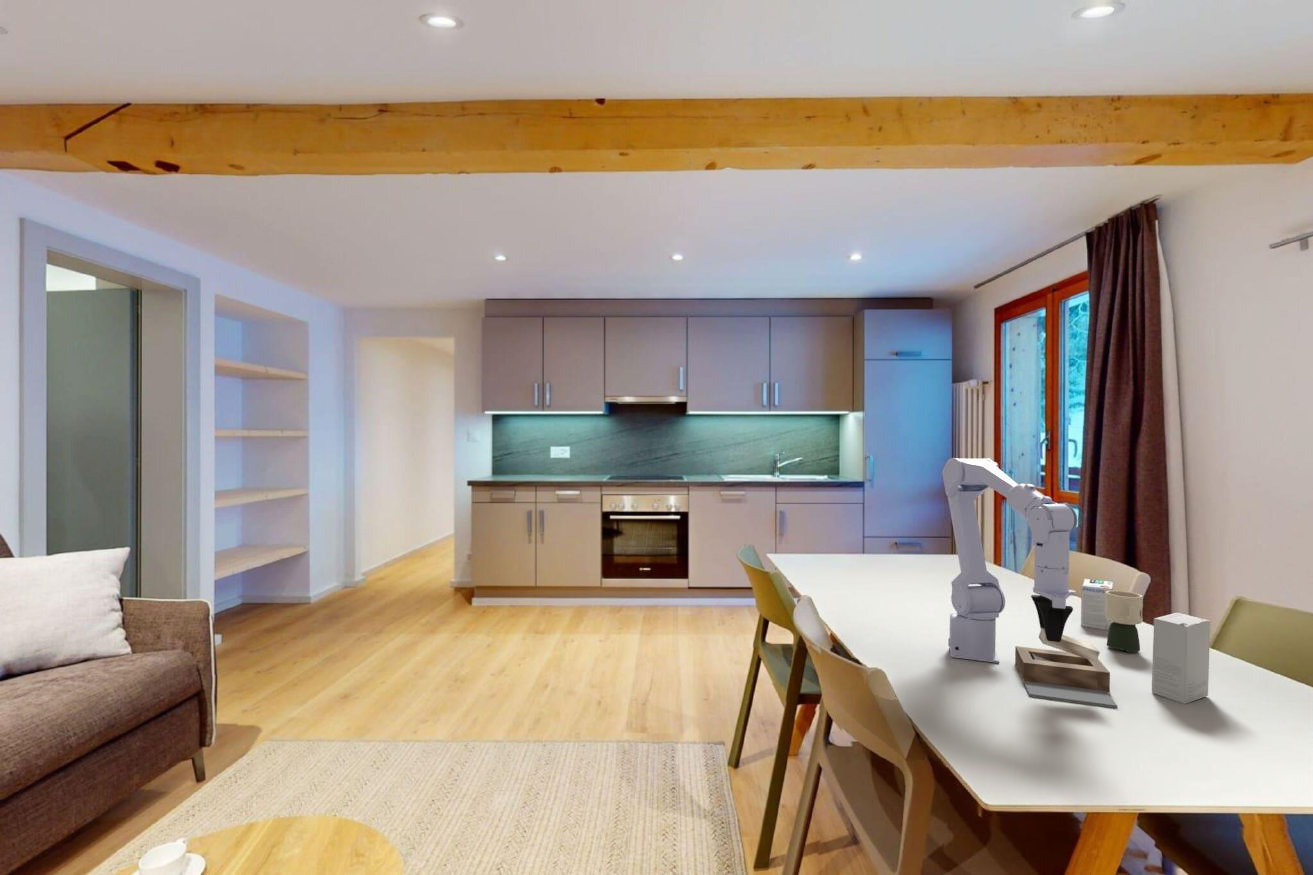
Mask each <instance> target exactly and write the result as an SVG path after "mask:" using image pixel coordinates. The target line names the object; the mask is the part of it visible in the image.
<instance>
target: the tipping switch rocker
mask: <svg viewBox="0 0 1313 875" xmlns="http://www.w3.org/2000/svg"><path fill="white" fill-rule="evenodd" d="M1031 656H1032V657H1033V659H1034V660H1041V661H1050V662H1055V661H1052V660H1049V659H1046V658H1043V657H1041V656H1038V655H1035V654H1032V655H1031Z"/></svg>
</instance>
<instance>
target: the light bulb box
mask: <svg viewBox="0 0 1313 875" xmlns="http://www.w3.org/2000/svg"><path fill="white" fill-rule="evenodd" d="M1106 591H1114V583H1113V581H1110V580H1108V581H1107V580H1100V579H1099V580H1097V579H1091V578H1090V579H1089V578H1083V583H1082V585H1081V596H1080V597H1081V600H1080V601H1081V606H1080V612H1081V613H1080V627H1083V628H1084V627H1086V628H1093V629H1099V630H1104V631H1105V630H1106V631H1109V627H1110V624H1111V623H1112V621H1110V620H1107V619H1106V617H1105V593H1106Z"/></svg>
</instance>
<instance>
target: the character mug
mask: <svg viewBox="0 0 1313 875" xmlns="http://www.w3.org/2000/svg"><path fill="white" fill-rule="evenodd" d="M1143 602H1144V597H1143V595H1142V594H1139V593H1135V592H1132V591H1124V590H1113V591H1106V593H1105V617H1106V619H1107V620H1110V621H1112V623H1111V624H1110V627H1109V630H1108V633H1107V639H1106V646H1107V647H1109V648H1111V649H1116V650H1117V649H1118V650H1121V651H1123V652H1124V653H1127V651H1128V652H1129V651H1130V652H1134V653H1136V652H1140V651H1141V644H1140V638H1139V631H1138V628H1137V626H1136V625H1140V624H1142V623H1143V621H1144V618H1143V617H1144V616H1143V609H1144V603H1143Z"/></svg>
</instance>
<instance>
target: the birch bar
mask: <svg viewBox="0 0 1313 875" xmlns="http://www.w3.org/2000/svg"><path fill="white" fill-rule="evenodd" d="M1038 634H1039V635H1038V639H1039V640H1040V642H1041V643H1042V644H1043V645H1046V646H1048V647H1051V648H1055V649H1057V650H1059V651H1063V652H1068V653H1071V654H1074V655H1077V656H1080V657H1083V658H1086V659H1089V660H1092V661H1094V662H1097V659H1099V656H1100V653H1101V651H1099V649H1098V648H1097V647H1096V646H1095V644H1091V643H1089V642H1086V641H1083V640H1080V639H1077V638H1074V637H1071V636H1068V635H1065V634H1062V638H1061V641H1060V642H1053V641H1048V640H1047V638H1046V634H1045V629H1044V628H1040V631H1039V633H1038Z"/></svg>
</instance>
